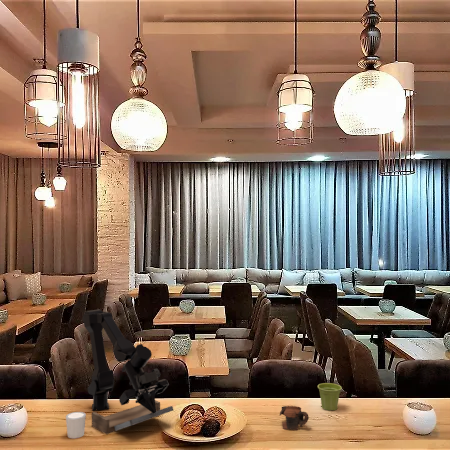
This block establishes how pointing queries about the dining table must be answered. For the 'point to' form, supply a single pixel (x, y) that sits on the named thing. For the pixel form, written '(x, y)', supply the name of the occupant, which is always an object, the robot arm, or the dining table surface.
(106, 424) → the tray
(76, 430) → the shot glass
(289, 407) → the pottery mug
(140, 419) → the panel
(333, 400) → the plant pot
